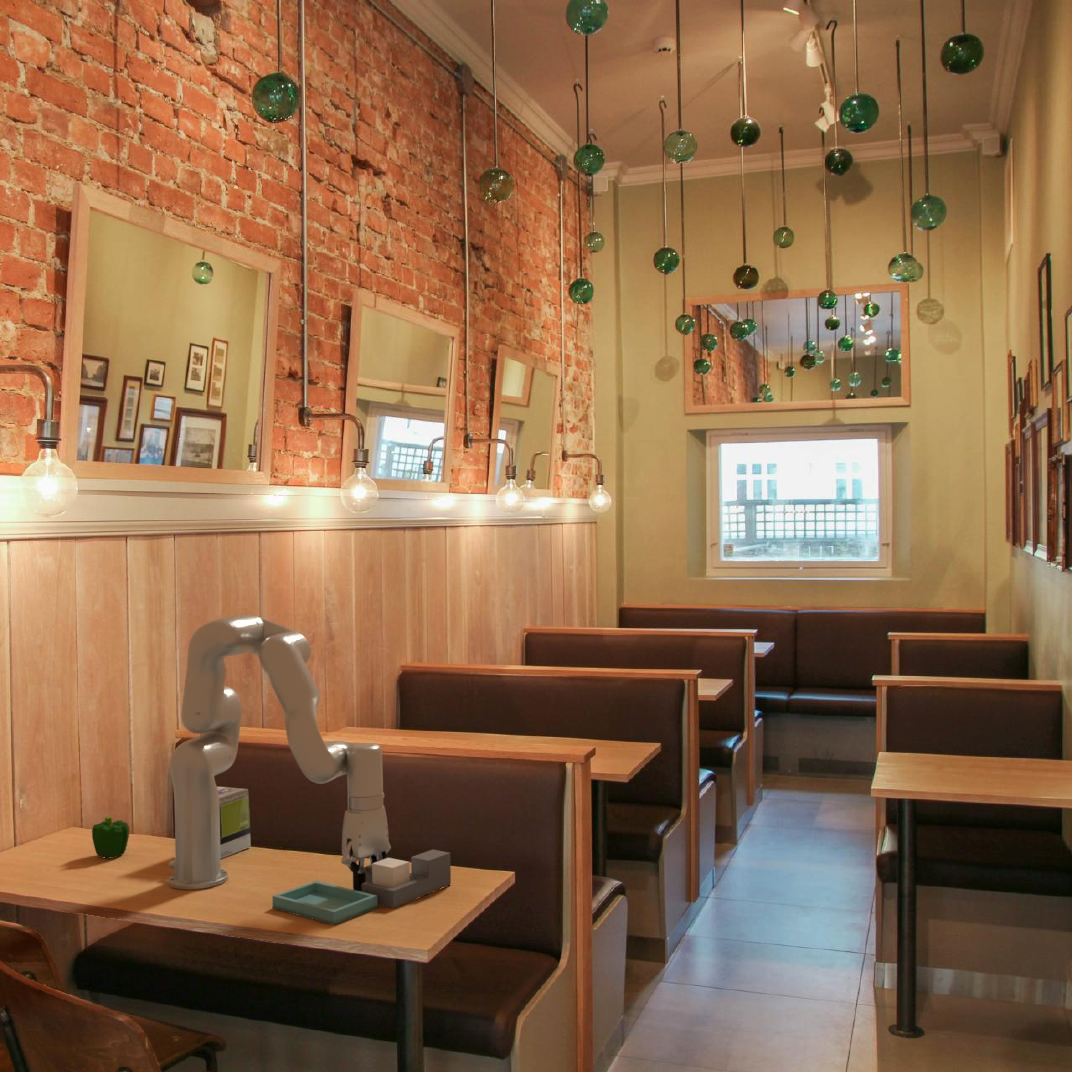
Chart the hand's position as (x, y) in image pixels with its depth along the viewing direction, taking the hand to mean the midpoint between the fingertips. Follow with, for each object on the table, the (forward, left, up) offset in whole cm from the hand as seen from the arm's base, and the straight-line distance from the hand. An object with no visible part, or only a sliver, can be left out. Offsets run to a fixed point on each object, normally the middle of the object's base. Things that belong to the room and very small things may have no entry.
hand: (367, 886), depth 238 cm
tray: (+1, -13, -1) cm, 13 cm away
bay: (+8, +3, -1) cm, 9 cm away
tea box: (-51, 0, -1) cm, 51 cm away
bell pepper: (-71, -15, -1) cm, 73 cm away
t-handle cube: (+5, 0, -1) cm, 5 cm away
